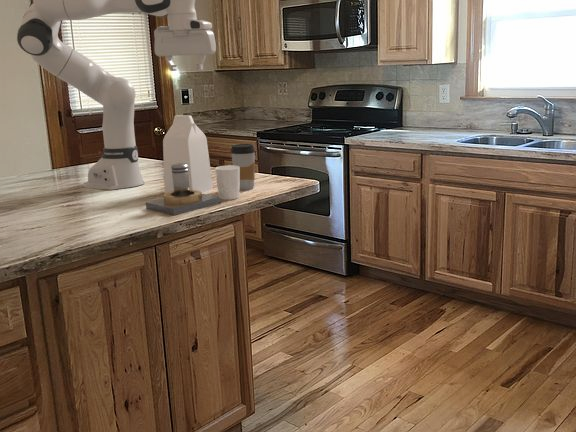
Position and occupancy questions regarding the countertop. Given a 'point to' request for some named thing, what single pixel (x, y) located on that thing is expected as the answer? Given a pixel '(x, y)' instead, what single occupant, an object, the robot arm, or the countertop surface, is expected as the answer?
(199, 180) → the milk
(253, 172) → the coffee cup
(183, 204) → the ring block
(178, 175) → the salt shaker
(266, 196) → the countertop surface
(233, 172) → the white cup
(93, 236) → the countertop surface
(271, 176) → the countertop surface
